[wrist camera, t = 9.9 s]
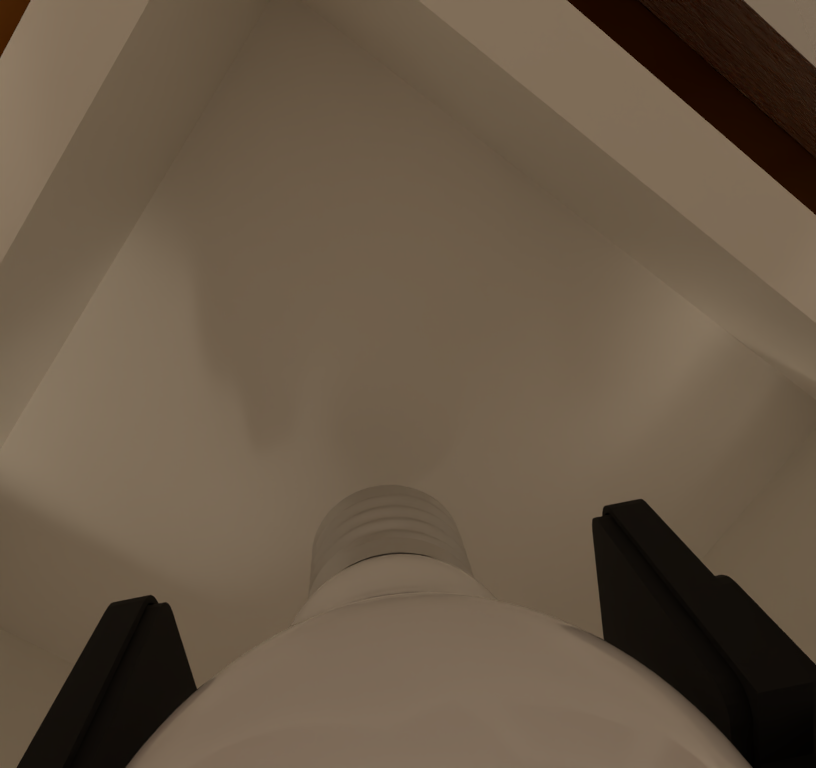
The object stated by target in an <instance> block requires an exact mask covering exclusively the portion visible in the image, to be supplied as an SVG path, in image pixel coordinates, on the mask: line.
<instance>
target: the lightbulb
mask: <svg viewBox="0 0 816 768" xmlns="http://www.w3.org/2000/svg"><path fill="white" fill-rule="evenodd" d="M125 768H753V767H752V766H751V765H750V763H749V762H748V761H747V760H746V759H745V757H744V756H743V755H742V754H741V753H740V752H739V750H738V749H737V748H736V747H735V746H734V745H733V744H732V743H731V741H730V740H729V739H728V738H727V737H726V736H725V735H724V734H723V733H722V732H721V731H720V730H719V729H718V728H717V727H716V726H715V725H714V724H713V723H712V722H711V721H710V720H709V719H708V718H707V717H706V716H705V715H704V714H703V713H702V712H701V711H700V710H699V709H698V708H697V707H696V706H695V705H694V704H692V703H691V702H690V701H689V700H688V699H687V698H686V697H685V696H683V695H682V694H681V693H680V692H679V691H678V690H676V689H675V688H674V687H673V686H671V685H670V684H669V683H668V682H666V681H665V680H664V679H663V678H661V677H660V676H659V675H657V674H656V673H655V672H653V671H652V670H651V669H649V668H648V667H646V666H645V665H644V664H642V663H641V662H639V661H638V660H636V659H635V658H633V657H632V656H630V655H629V654H627V653H625V652H624V651H622V650H621V649H619V648H617V647H616V646H614V645H612V644H610V643H609V642H607V641H605V640H603V639H602V638H600V637H598V636H596V635H594V634H592V633H590V632H588V631H586V630H584V629H582V628H580V627H577V626H575V625H573V624H571V623H568V622H566V621H564V620H561V619H559V618H556V617H554V616H551V615H548V614H546V613H543V612H540V611H537V610H534V609H531V608H527V607H524V606H521V605H517V604H513V603H509V602H505V601H501V600H498V599H497V598H496V597H495V596H494V595H493V594H492V593H491V592H490V591H489V590H488V589H487V588H486V587H485V586H484V585H483V584H481V583H480V582H479V581H478V580H477V579H475V578H474V575H473V573H472V569H471V566H470V562H469V560H468V557H467V553H466V550H465V548H464V545H463V541H462V538H461V535H460V533H459V530H458V527H457V525H456V523H455V521H454V519H453V517H452V516H451V514H450V513H449V512H448V510H447V509H446V508H445V507H444V506H443V505H442V504H441V503H440V502H439V501H437V500H436V499H435V498H433V497H432V496H430V495H428V494H426V493H424V492H422V491H420V490H417V489H414V488H410V487H406V486H400V485H379V486H373V487H369V488H365V489H362V490H360V491H357V492H355V493H353V494H351V495H349V496H347V497H346V498H344V499H343V500H341V501H340V502H339V503H338V504H336V505H335V506H334V507H333V508H332V509H331V510H330V511H329V513H328V514H327V515H326V516H325V518H324V519H323V521H322V522H321V524H320V526H319V528H318V530H317V532H316V534H315V538H314V542H313V547H312V561H311V572H310V585H309V592H308V600H307V601H306V602H305V603H304V605H303V606H302V607H301V609H300V610H299V612H298V613H297V615H296V616H295V618H294V620H293V621H292V623H291V625H290V627H288V628H286V629H284V630H283V631H281V632H279V633H277V634H275V635H273V636H271V637H270V638H268V639H266V640H264V641H263V642H261V643H259V644H258V645H256V646H255V647H253V648H251V649H250V650H248V651H247V652H245V653H244V654H242V655H241V656H239V657H238V658H236V659H235V660H234V661H232V662H231V663H229V664H228V665H227V666H225V667H224V668H223V669H221V670H220V671H219V672H217V673H216V674H215V675H214V676H212V677H211V678H210V679H209V680H208V681H206V682H205V683H204V684H203V685H202V686H200V687H199V688H198V689H197V690H196V691H195V692H193V693H192V694H191V695H190V696H189V697H188V698H187V699H186V700H185V701H184V702H183V703H182V704H181V705H180V706H179V707H178V708H176V709H175V710H174V711H173V712H172V713H171V714H170V715H169V716H168V718H167V719H166V720H165V721H164V722H163V723H162V724H161V725H160V726H159V727H158V728H157V729H156V730H155V731H154V733H153V734H152V735H151V736H150V737H149V738H148V739H147V741H146V742H145V743H144V744H143V745H142V746H141V748H140V749H139V750H138V751H137V753H136V754H135V755H134V756H133V758H132V759H131V760H130V761H129V763H128V764H127V765H126V767H125Z"/></svg>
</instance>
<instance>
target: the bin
mask: <svg viewBox="0 0 816 768" xmlns="http://www.w3.org/2000/svg"><path fill="white" fill-rule="evenodd" d="M379 485H400V486H406V487H410V488H414V489H417V490H420V491H422V492H424V493H426V494H428V495H430V496H432V497H433V498H435V499H436V500H437V501H439V502H440V503H441V504H442V505H443V506H444V507H445V508H446V509H447V510H448V512H449V513H450V514H451V516H452V517H453V519H454V521H455V523H456V525H457V527H458V530H459V533H460V535H461V538H462V541H463V545H464V548H465V550H466V553H467V557H468V560H469V562H470V566H471V569H472V573H473V575H474V578H475V579H477V580H478V581H479V582H480V583H481V584H483V585H484V586H485V587H486V588H487V589H488V590H489V591H490V592H491V593H492V594H493V595H494V596H495V597H496V598H497V599H498V600H501V601H505V602H509V603H513V604H517V605H521V606H524V607H527V608H531V609H534V610H537V611H540V612H543V613H546V614H548V615H551V616H554V617H556V618H559V619H561V620H564V621H566V622H568V623H571V624H573V625H575V626H577V627H580V628H582V629H584V630H586V631H588V632H590V633H592V634H594V635H596V636H598V637H600V638H602V639H603V640H604V638H603V628H602V619H601V609H600V600H599V590H598V581H597V571H596V562H595V552H594V543H593V533H592V519H593V518H595V517H600V516H602V511H603V507H604V506H606V505H611V504H616V503H621V502H626V501H631V500H636V499H643V500H644V501H646V502H647V504H648V505H649V506H650V507H651V508H652V509H653V510H654V511H655V512H656V513H657V514H658V515H659V516H660V518H661V519H662V520H663V521H664V522H665V523H666V524H667V525H668V526H669V527H670V528H671V529H672V530H673V532H674V533H675V534H676V535H677V536H678V537H679V538H680V539H681V540H682V541H683V542H684V543H685V544H686V546H687V547H688V548H689V549H690V550H691V551H692V552H693V553H694V554H695V555H696V556H697V557H698V558H699V559H700V561H701V562H702V563H703V564H704V565H705V566H706V567H707V568H708V569H709V570H710V571H711V572H712V573H713V575H714V576H717V575H726V576H729V577H730V578H731V579H733V580H734V581H735V582H736V583H737V584H738V585H739V586H740V587H741V588H742V589H743V590H744V591H745V592H746V593H747V594H748V595H749V596H750V597H751V598H752V599H753V600H754V601H755V602H756V603H757V604H758V605H759V606H760V607H761V608H762V610H763V611H764V612H765V613H766V614H767V615H768V616H769V617H770V618H771V619H772V620H773V621H774V622H775V623H776V624H777V625H778V626H779V627H780V628H781V629H782V630H783V631H784V632H785V633H786V634H787V635H788V636H789V637H790V638H791V639H792V640H793V642H794V643H795V644H796V645H797V646H798V647H799V648H800V649H801V650H802V651H803V652H804V653H805V654H806V655H807V656H808V657H809V658H810V659H811V660H812V661H813V662H814V663H815V664H816V215H815V214H814V213H813V212H812V211H810V210H809V209H808V208H807V207H806V206H805V205H803V204H802V203H801V202H800V201H799V200H798V199H796V198H795V197H794V196H793V195H792V194H791V193H790V192H788V191H787V190H786V189H785V188H784V187H783V186H781V185H780V184H779V183H778V182H777V181H776V180H774V179H773V178H772V177H771V176H770V175H769V174H767V173H766V172H765V171H764V170H763V169H762V168H761V167H759V166H758V165H757V164H756V163H755V162H754V161H752V160H751V159H750V158H749V157H748V156H747V155H745V154H744V153H743V152H742V151H741V150H740V149H739V148H737V147H736V146H735V145H734V144H733V143H732V142H730V141H729V140H728V139H727V138H726V137H725V136H723V135H722V134H721V133H720V132H719V131H718V130H717V129H715V128H714V127H713V126H712V125H711V124H710V123H708V122H707V121H706V120H705V119H704V118H703V117H701V116H700V115H699V114H698V113H697V112H696V111H694V110H693V109H692V108H691V107H690V106H689V105H688V104H686V103H685V102H684V101H683V100H682V99H681V98H679V97H678V96H677V95H676V94H675V93H674V92H672V91H671V90H670V89H669V88H668V87H667V86H666V85H664V84H663V83H662V82H661V81H660V80H659V79H657V78H656V77H655V76H654V75H653V74H652V73H650V72H649V71H648V70H647V69H646V68H645V67H644V66H642V65H641V64H640V63H639V62H638V61H637V60H635V59H634V58H633V57H632V56H631V55H630V54H628V53H627V52H626V51H625V50H624V49H623V48H622V47H620V46H619V45H618V44H617V43H616V42H615V41H613V40H612V39H611V38H610V37H609V36H608V35H606V34H605V33H604V32H603V31H602V30H601V29H599V28H598V27H597V26H596V25H595V24H594V23H593V22H591V21H590V20H589V19H588V18H587V17H586V16H584V15H583V14H582V13H581V12H580V11H579V10H577V9H576V8H575V7H574V6H573V5H572V4H571V3H569V2H568V1H567V0H31V1H30V3H29V5H28V7H27V9H26V11H25V12H24V14H23V16H22V18H21V20H20V22H19V24H18V26H17V28H16V29H15V31H14V33H13V35H12V37H11V39H10V41H9V43H8V44H7V46H6V48H5V50H4V52H3V54H2V56H1V58H0V768H17V766H18V764H19V762H20V760H21V759H22V757H23V755H24V753H25V752H26V750H27V748H28V746H29V745H30V743H31V741H32V739H33V738H34V736H35V734H36V732H37V730H38V729H39V727H40V725H41V723H42V722H43V720H44V718H45V716H46V715H47V713H48V711H49V709H50V708H51V706H52V704H53V702H54V700H55V699H56V697H57V695H58V693H59V692H60V690H61V688H62V686H63V685H64V683H65V681H66V679H67V678H68V676H69V674H70V672H71V671H72V669H73V667H74V665H75V663H76V662H77V660H78V658H79V656H80V655H81V653H82V651H83V649H84V648H85V646H86V644H87V642H88V641H89V639H90V637H91V635H92V633H93V632H94V630H95V628H96V626H97V625H98V623H99V621H100V619H101V618H102V616H103V614H104V612H105V611H106V609H107V607H108V606H109V605H110V603H113V602H116V601H122V600H127V599H132V598H137V597H142V596H147V595H152V596H154V597H155V598H156V600H157V601H158V603H163V602H167V603H168V604H169V605H170V606H171V609H172V611H173V614H174V617H175V621H176V624H177V627H178V630H179V633H180V637H181V640H182V643H183V646H184V649H185V652H186V656H187V659H188V662H189V665H190V668H191V672H192V675H193V678H194V681H195V684H196V687H197V689H198V688H199V687H200V686H202V685H203V684H204V683H205V682H206V681H208V680H209V679H210V678H211V677H212V676H214V675H215V674H216V673H217V672H219V671H220V670H221V669H223V668H224V667H225V666H227V665H228V664H229V663H231V662H232V661H234V660H235V659H236V658H238V657H239V656H241V655H242V654H244V653H245V652H247V651H248V650H250V649H251V648H253V647H255V646H256V645H258V644H259V643H261V642H263V641H264V640H266V639H268V638H270V637H271V636H273V635H275V634H277V633H279V632H281V631H283V630H284V629H286V628H288V627H290V625H291V623H292V621H293V620H294V618H295V616H296V615H297V613H298V612H299V610H300V609H301V607H302V606H303V605H304V603H305V602H306V601H307V600H308V592H309V585H310V572H311V561H312V547H313V542H314V538H315V534H316V532H317V530H318V528H319V526H320V524H321V522H322V521H323V519H324V518H325V516H326V515H327V514H328V513H329V511H330V510H331V509H332V508H333V507H334V506H335V505H336V504H338V503H339V502H340V501H341V500H343V499H344V498H346V497H347V496H349V495H351V494H353V493H355V492H357V491H360V490H362V489H365V488H369V487H373V486H379Z"/></svg>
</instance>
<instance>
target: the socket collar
mask: <svg viewBox="0 0 816 768" xmlns="http://www.w3.org/2000/svg"><path fill="white" fill-rule="evenodd" d="M638 1H639V2H641V3H642V4H643V5H644V6H645V7H646V8H647V9H648V10H650V11H651V12H652V13H653V14H654V15H655V16H656V17H657V18H659V19H660V20H661V21H662V22H663V23H664V24H665V25H666V26H668V27H669V28H670V29H671V30H672V31H673V32H674V33H675V34H677V35H678V36H679V37H680V38H681V39H682V40H683V41H684V42H686V43H687V44H688V45H689V46H690V47H691V48H692V49H693V50H695V51H696V52H697V53H698V54H699V55H700V56H701V57H702V58H704V59H705V60H706V61H707V62H708V63H709V64H710V65H711V66H713V67H714V68H715V69H716V70H717V71H718V72H719V73H720V74H721V75H723V76H724V77H725V78H726V79H727V80H728V81H729V82H730V83H732V84H733V85H734V86H735V87H736V88H737V89H738V90H739V91H741V92H742V93H743V94H744V95H745V96H746V97H747V98H748V99H750V100H751V101H752V102H753V103H754V104H755V105H756V106H757V107H759V108H760V109H761V110H762V111H763V112H764V113H765V114H766V115H768V116H769V117H770V118H771V119H772V120H773V121H774V122H775V123H777V124H778V125H779V126H780V127H781V128H782V129H783V130H784V131H786V132H787V133H788V134H789V135H790V136H791V137H792V138H793V139H795V140H796V141H797V142H798V143H799V144H800V145H801V146H802V147H804V148H805V149H806V150H807V151H808V152H809V153H810V154H811V155H813V156H814V157H815V158H816V0H638Z"/></svg>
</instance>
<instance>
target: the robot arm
mask: <svg viewBox="0 0 816 768" xmlns="http://www.w3.org/2000/svg"><path fill="white" fill-rule="evenodd" d="M592 533H593V543H594V552H595V562H596V571H597V581H598V590H599V600H600V609H601V619H602V628H603V638H604V640H605V641H607V642H609V643H610V644H612V645H614V646H616V647H617V648H619V649H621V650H622V651H624V652H625V653H627V654H629V655H630V656H632V657H633V658H635V659H636V660H638V661H639V662H641V663H642V664H644V665H645V666H646V667H648V668H649V669H651V670H652V671H653V672H655V673H656V674H657V675H659V676H660V677H661V678H663V679H664V680H665V681H666V682H668V683H669V684H670V685H671V686H673V687H674V688H675V689H676V690H678V691H679V692H680V693H681V694H682V695H683V696H685V697H686V698H687V699H688V700H689V701H690V702H691V703H692V704H694V705H695V706H696V707H697V708H698V709H699V710H700V711H701V712H702V713H703V714H704V715H705V716H706V717H707V718H708V719H709V720H710V721H711V722H712V723H713V724H714V725H715V726H716V727H717V728H718V729H719V730H720V731H721V732H722V733H723V734H724V735H725V736H726V737H727V738H728V739H729V740H730V741H731V743H732V744H733V745H734V746H735V747H736V748H737V749H738V750H739V752H740V753H741V754H742V755H743V756H744V757H745V759H746V760H747V761H748V762H749V763H750V765H751V766H752V767H753V768H816V664H815V663H814V662H813V661H812V660H811V659H810V658H809V657H808V656H807V655H806V654H805V653H804V652H803V651H802V650H801V649H800V648H799V647H798V646H797V645H796V644H795V643H794V642H793V640H792V639H791V638H790V637H789V636H788V635H787V634H786V633H785V632H784V631H783V630H782V629H781V628H780V627H779V626H778V625H777V624H776V623H775V622H774V621H773V620H772V619H771V618H770V617H769V616H768V615H767V614H766V613H765V612H764V611H763V610H762V608H761V607H760V606H759V605H758V604H757V603H756V602H755V601H754V600H753V599H752V598H751V597H750V596H749V595H748V594H747V593H746V592H745V591H744V590H743V589H742V588H741V587H740V586H739V585H738V584H737V583H736V582H735V581H734V580H733V579H731V578H730V577H729V576H726V575H717V576H714V575H713V573H712V572H711V571H710V570H709V569H708V568H707V567H706V566H705V565H704V564H703V563H702V562H701V561H700V559H699V558H698V557H697V556H696V555H695V554H694V553H693V552H692V551H691V550H690V549H689V548H688V547H687V546H686V544H685V543H684V542H683V541H682V540H681V539H680V538H679V537H678V536H677V535H676V534H675V533H674V532H673V530H672V529H671V528H670V527H669V526H668V525H667V524H666V523H665V522H664V521H663V520H662V519H661V518H660V516H659V515H658V514H657V513H656V512H655V511H654V510H653V509H652V508H651V507H650V506H649V505H648V504H647V502H646V501H644V500H643V499H636V500H631V501H626V502H621V503H616V504H611V505H606V506H604V507H603V511H602V516H600V517H595V518H593V519H592ZM196 690H197V687H196V684H195V681H194V678H193V675H192V672H191V668H190V665H189V662H188V659H187V656H186V652H185V649H184V646H183V643H182V640H181V637H180V633H179V630H178V627H177V624H176V621H175V617H174V614H173V611H172V609H171V606H170V605H169V604H168V603H167V602H163V603H158V601H157V600H156V598H155V597H154V596H152V595H147V596H142V597H137V598H132V599H127V600H122V601H116V602H113V603H110V605H109V606H108V607H107V609H106V611H105V612H104V614H103V616H102V618H101V619H100V621H99V623H98V625H97V626H96V628H95V630H94V632H93V633H92V635H91V637H90V639H89V641H88V642H87V644H86V646H85V648H84V649H83V651H82V653H81V655H80V656H79V658H78V660H77V662H76V663H75V665H74V667H73V669H72V671H71V672H70V674H69V676H68V678H67V679H66V681H65V683H64V685H63V686H62V688H61V690H60V692H59V693H58V695H57V697H56V699H55V700H54V702H53V704H52V706H51V708H50V709H49V711H48V713H47V715H46V716H45V718H44V720H43V722H42V723H41V725H40V727H39V729H38V730H37V732H36V734H35V736H34V738H33V739H32V741H31V743H30V745H29V746H28V748H27V750H26V752H25V753H24V755H23V757H22V759H21V760H20V762H19V764H18V766H17V768H125V767H126V765H127V764H128V763H129V761H130V760H131V759H132V758H133V756H134V755H135V754H136V753H137V751H138V750H139V749H140V748H141V746H142V745H143V744H144V743H145V742H146V741H147V739H148V738H149V737H150V736H151V735H152V734H153V733H154V731H155V730H156V729H157V728H158V727H159V726H160V725H161V724H162V723H163V722H164V721H165V720H166V719H167V718H168V716H169V715H170V714H171V713H172V712H173V711H174V710H175V709H176V708H178V707H179V706H180V705H181V704H182V703H183V702H184V701H185V700H186V699H187V698H188V697H189V696H190V695H191V694H192V693H193V692H195V691H196Z"/></svg>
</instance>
